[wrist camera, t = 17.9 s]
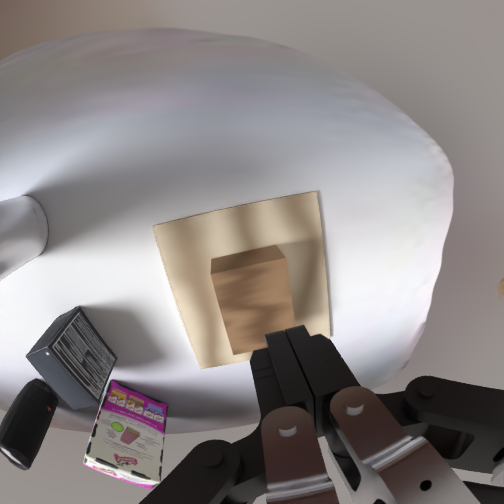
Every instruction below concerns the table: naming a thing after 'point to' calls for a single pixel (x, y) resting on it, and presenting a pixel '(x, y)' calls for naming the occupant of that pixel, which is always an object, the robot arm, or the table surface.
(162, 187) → the table surface
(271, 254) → the walnut block
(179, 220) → the beige cloth mat
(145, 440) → the candy bar box
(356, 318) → the table surface
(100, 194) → the table surface
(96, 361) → the small box
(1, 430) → the portable speaker
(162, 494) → the robot arm
